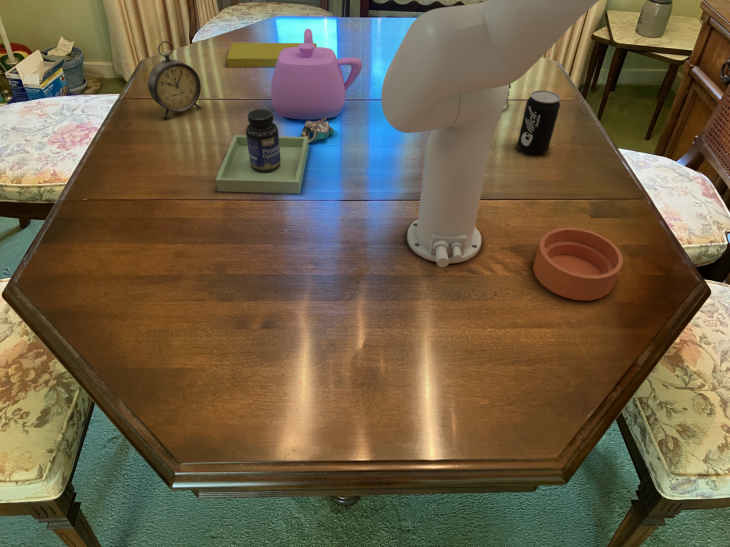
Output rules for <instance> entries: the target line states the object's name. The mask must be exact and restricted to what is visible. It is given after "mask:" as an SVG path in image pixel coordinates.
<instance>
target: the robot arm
mask: <svg viewBox="0 0 730 547" xmlns="http://www.w3.org/2000/svg"><path fill="white" fill-rule="evenodd" d="M598 2H600V0H485V1H482V2H478V3H472V4H461V5H455V6H445V7H438V8H434V9H430V10H428V11H426V12H424V13H422V14H421V15H420V16H418V17H417V18H415V19H414V20H413V22H412V23H411V24H410V26H409V27H408V29H407V31H406V33H405V35H404V37H403V39H402V41H401V43H400V45H399V47H398V49H397V50H396V52H395V55H394V56H393V58H392V59H391V62H390V63H389V66H388V68H387V69H386V73H385V74H384V78H383V82H382V87H381V96H380V99H381V100H380V102H381V107H382V112H383V115H384V118H385V119H386V121H387V123H388V124H389V125H390V126H391V127H392V128H393V129H395V130H396V131H399V132H401V133H405V134H410V133H412V134H413V133H414V134H415V133H421V132H426V131H431V133H430V134H429V136H428V139H427V142H426V145H425V150H424V158H423V169H422V179H421V188H420V199H419V208H418V217H417V219H415V220H413V222H411V224H410V225H409V227H408V228H407V235H406V240H407V244H408V246H409V248H410V249H411V250H412V252H414V253H415V254H417V255H418V256H419V257H421V258H423V259H424V260H427V261H430V262H435V263H436V265H437V267H439V268H445V267H447V266H449V264H458V263H463V262H466V261H468V260H470V259H472V258H474V257H475V256H476V255H477V254H478V253H479V252H480V249H481V246H482V242H483V240H482V235H481V233H480V231H479V230H478V228H477V227H476V223H477V218H478V212H479V207H480V203H481V197H482V192H483V187H484V181H485V176H486V170H487V165H488V162H489V161H488V160H489V157H490V156H489V155H490V152H491V147H492V142H493V139H494V138H493V137H494V134H495V131H496V128H497V126H498V123H499V121H500V118H501V116H502V113H503V111H504V110H505V109H504V106H505V104H506V103H507V102H506V100H508V99H507V96H508V92H509V93H510V89H509V84H512V83H514V82H516V81H517V80H519V79H520V78H522V77H523V76H524V75H525V74H526V73H527V72H528V71H530V69H532V67H533V66H534V65H535V64H536V63H537V62H538V61H539V60H540V59H541V58H542V57H543V56H544V55H545V54H546V53H547V52H548V51H549V50H550V49H551V48H552V47H553V46H554V45H555V44H556V43H557V42H558V41H559V40H560V39H561V38H562V37H563V36H564V34H565V33H566V32H567V31H568V30H569V29H570V28H571V27H572V26H573V25H574V24H575V23H576V22H577V21H578V20H579V19H580V18H582V17H583V15H585V14H586V13H587V12H588V11H589V10H590V9H592V8H593V7H594V6H596V4H597V3H598ZM508 97H509V96H508ZM503 109H504V110H503Z"/></svg>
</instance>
